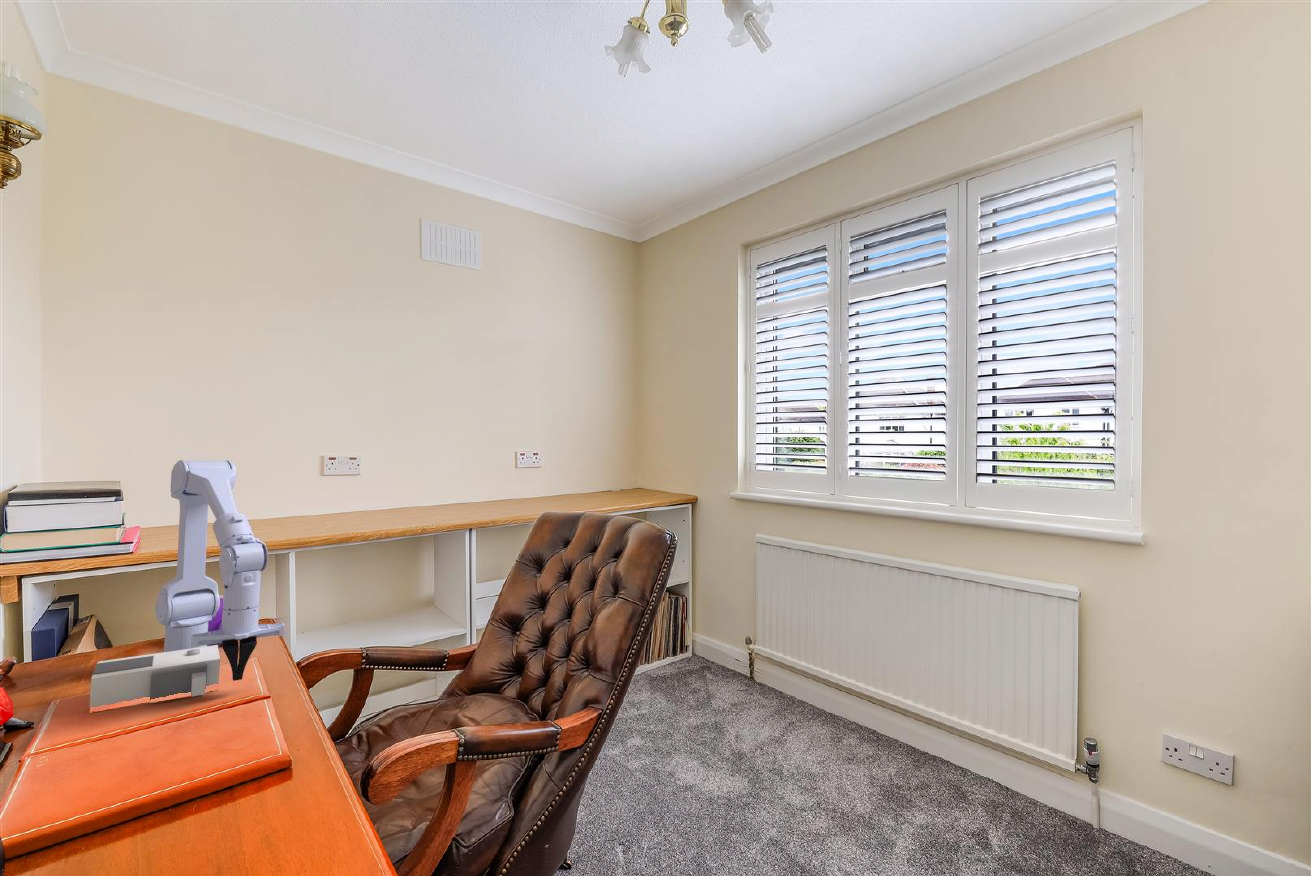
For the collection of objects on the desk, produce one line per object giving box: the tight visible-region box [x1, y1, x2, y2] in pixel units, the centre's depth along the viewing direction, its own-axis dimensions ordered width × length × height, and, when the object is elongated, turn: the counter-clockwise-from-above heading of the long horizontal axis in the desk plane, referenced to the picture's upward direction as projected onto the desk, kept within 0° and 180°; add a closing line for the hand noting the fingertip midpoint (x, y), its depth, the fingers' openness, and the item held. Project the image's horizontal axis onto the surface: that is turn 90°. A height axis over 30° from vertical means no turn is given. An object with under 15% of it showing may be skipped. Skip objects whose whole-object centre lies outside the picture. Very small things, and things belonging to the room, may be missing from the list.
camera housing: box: [89, 644, 221, 708], centre depth 112 cm, size 10×18×7 cm, turn 129°
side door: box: [150, 664, 207, 700], centre depth 108 cm, size 4×8×5 cm, turn 129°
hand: (237, 678), depth 112 cm, fingers closed
